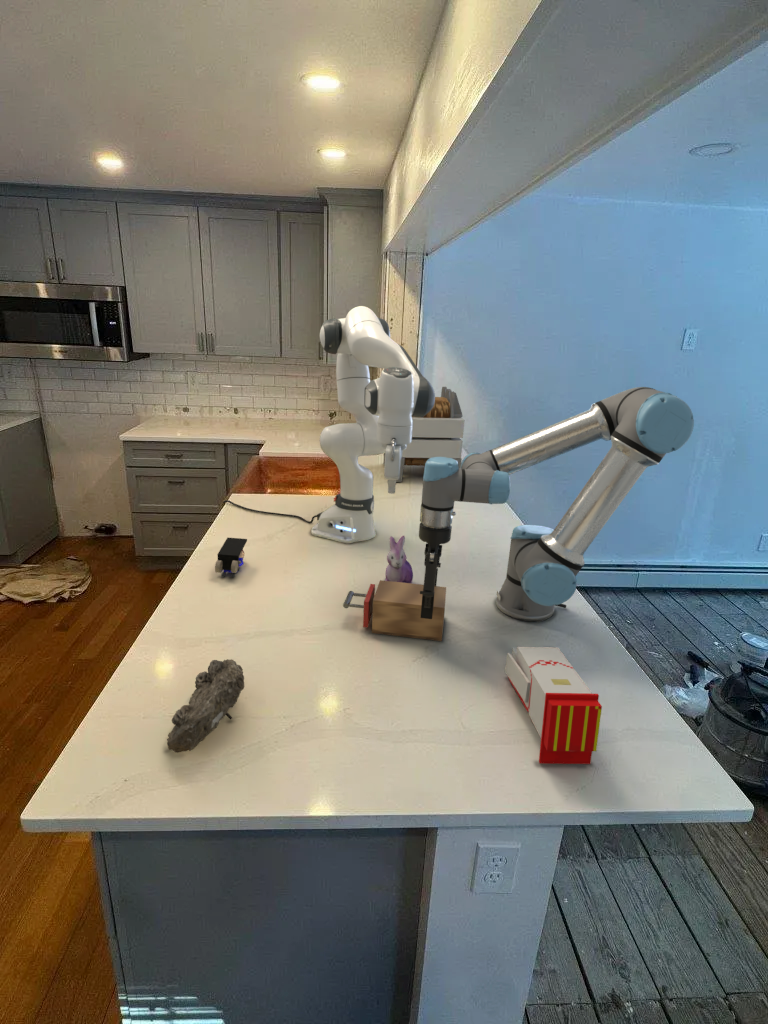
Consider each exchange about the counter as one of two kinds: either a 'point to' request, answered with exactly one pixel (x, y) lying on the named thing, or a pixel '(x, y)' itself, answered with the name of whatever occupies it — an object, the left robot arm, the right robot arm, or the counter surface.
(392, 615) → the cabinet
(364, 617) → the drawer
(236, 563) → the figurine character
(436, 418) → the transformer
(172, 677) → the counter surface
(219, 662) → the fossil
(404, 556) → the figurine
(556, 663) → the toy
